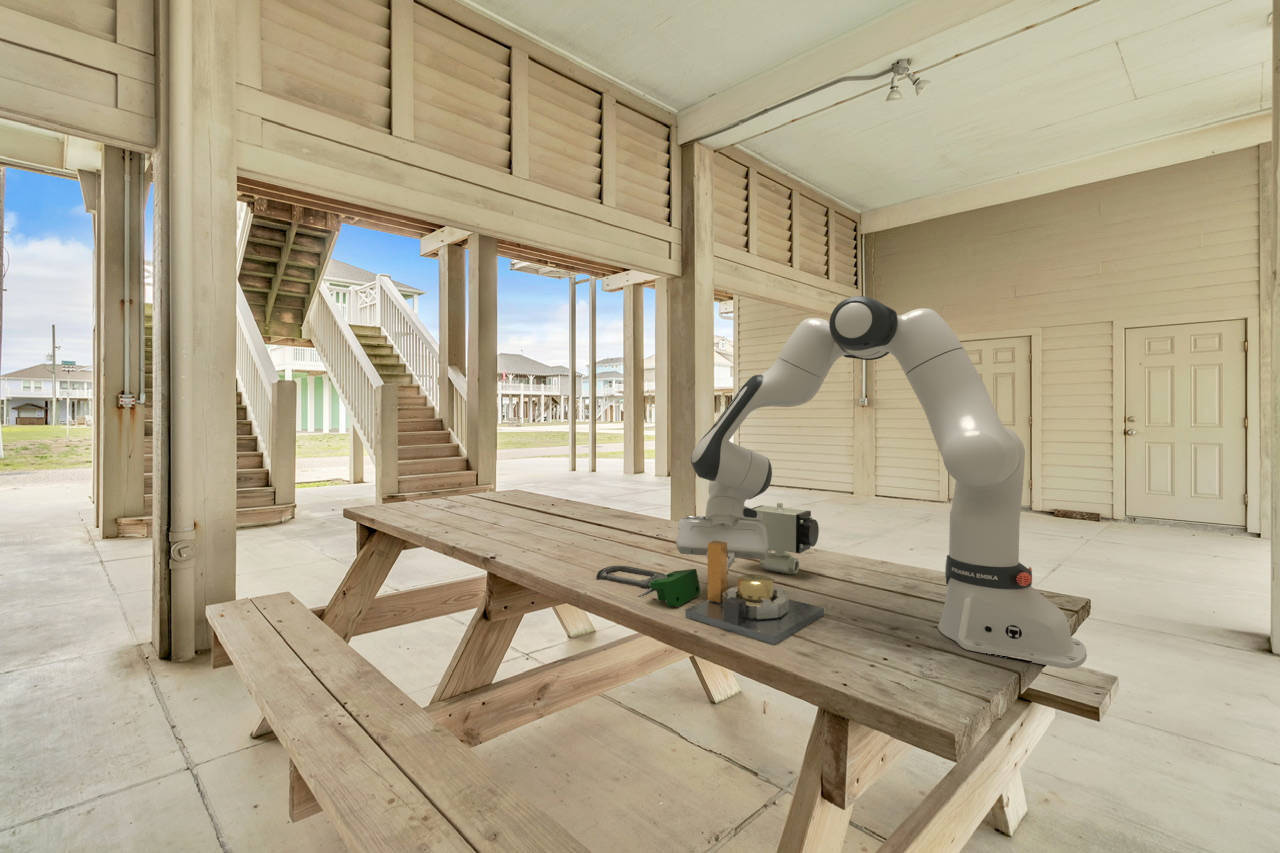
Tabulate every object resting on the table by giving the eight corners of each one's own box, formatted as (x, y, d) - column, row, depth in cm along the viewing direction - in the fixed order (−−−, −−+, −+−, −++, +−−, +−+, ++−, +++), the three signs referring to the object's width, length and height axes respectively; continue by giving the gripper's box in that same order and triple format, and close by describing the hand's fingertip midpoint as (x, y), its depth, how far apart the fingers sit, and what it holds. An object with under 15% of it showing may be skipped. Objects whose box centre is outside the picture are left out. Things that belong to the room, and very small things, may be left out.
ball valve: (820, 573, 146) (821, 504, 145) (808, 582, 139) (808, 509, 138) (755, 562, 157) (756, 497, 156) (741, 569, 150) (741, 501, 149)
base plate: (824, 615, 117) (824, 578, 117) (774, 645, 102) (774, 603, 102) (740, 593, 130) (740, 560, 130) (685, 617, 116) (685, 580, 115)
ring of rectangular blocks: (795, 604, 118) (796, 546, 117) (772, 623, 108) (773, 559, 107) (723, 590, 127) (724, 536, 127) (696, 606, 117) (696, 547, 116)
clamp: (677, 612, 130) (678, 572, 134) (700, 611, 127) (700, 570, 131) (646, 605, 122) (647, 562, 126) (669, 604, 119) (670, 560, 122)
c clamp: (683, 582, 141) (683, 571, 141) (640, 600, 127) (640, 588, 127) (621, 567, 153) (621, 557, 153) (575, 583, 140) (575, 572, 140)
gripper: (678, 507, 132) (669, 561, 123) (769, 512, 127) (767, 569, 118) (681, 522, 137) (673, 575, 128) (769, 528, 132) (767, 583, 123)
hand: (719, 572), depth 123 cm, fingers closed
